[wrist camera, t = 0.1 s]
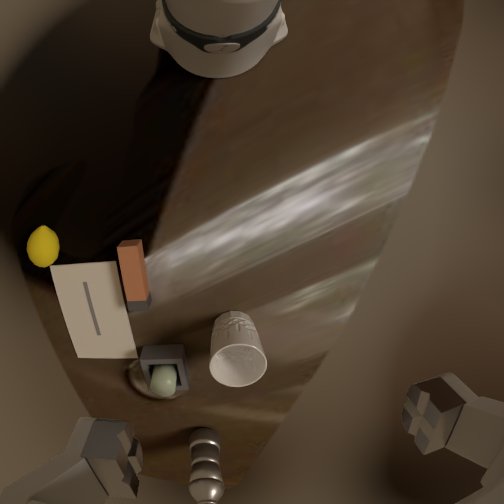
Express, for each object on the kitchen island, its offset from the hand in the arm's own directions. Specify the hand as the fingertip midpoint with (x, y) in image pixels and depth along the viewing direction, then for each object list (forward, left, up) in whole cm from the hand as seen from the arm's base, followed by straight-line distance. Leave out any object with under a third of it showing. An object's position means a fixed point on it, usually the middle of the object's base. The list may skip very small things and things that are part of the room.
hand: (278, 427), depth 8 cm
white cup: (+22, 0, -39) cm, 45 cm away
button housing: (+28, -12, -39) cm, 49 cm away
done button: (+28, -12, -37) cm, 48 cm away
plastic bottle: (+49, -8, -39) cm, 63 cm away
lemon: (+5, -28, -39) cm, 48 cm away
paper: (+18, -23, -39) cm, 48 cm away
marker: (+11, -14, -39) cm, 43 cm away
